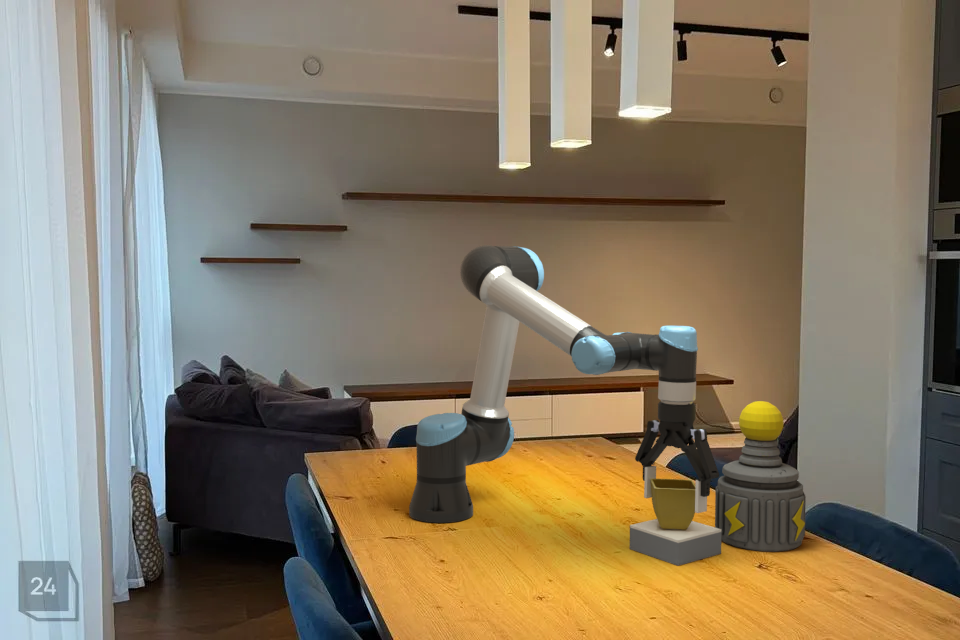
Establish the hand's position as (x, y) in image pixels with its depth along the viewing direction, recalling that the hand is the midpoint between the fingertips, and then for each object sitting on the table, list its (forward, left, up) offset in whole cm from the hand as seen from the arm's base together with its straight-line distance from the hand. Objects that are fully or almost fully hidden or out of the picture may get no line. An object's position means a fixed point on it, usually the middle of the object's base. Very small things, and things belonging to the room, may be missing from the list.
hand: (674, 504), depth 177 cm
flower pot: (0, 0, -5) cm, 5 cm away
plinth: (0, 0, -10) cm, 10 cm away
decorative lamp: (+21, -5, -10) cm, 24 cm away
